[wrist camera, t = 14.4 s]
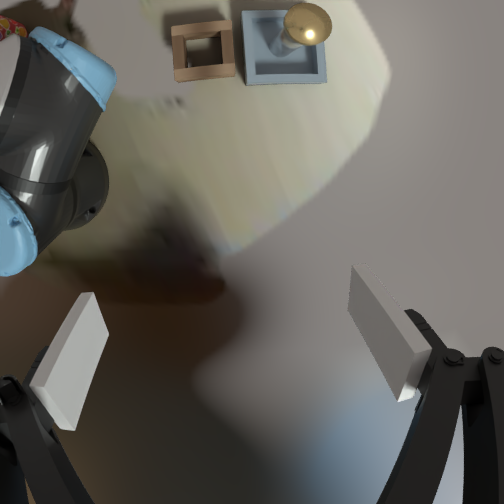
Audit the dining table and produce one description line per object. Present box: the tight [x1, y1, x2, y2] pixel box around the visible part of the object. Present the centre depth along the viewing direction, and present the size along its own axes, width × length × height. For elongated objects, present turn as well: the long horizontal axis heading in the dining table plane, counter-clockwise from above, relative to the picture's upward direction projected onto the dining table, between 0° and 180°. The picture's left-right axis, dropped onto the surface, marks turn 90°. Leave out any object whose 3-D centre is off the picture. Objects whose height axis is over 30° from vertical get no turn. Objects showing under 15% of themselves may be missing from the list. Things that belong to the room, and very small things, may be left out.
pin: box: [269, 3, 332, 58], centre depth 32 cm, size 5×5×15 cm
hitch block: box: [171, 20, 235, 83], centre depth 37 cm, size 8×8×4 cm
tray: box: [240, 10, 327, 86], centre depth 38 cm, size 11×11×4 cm
